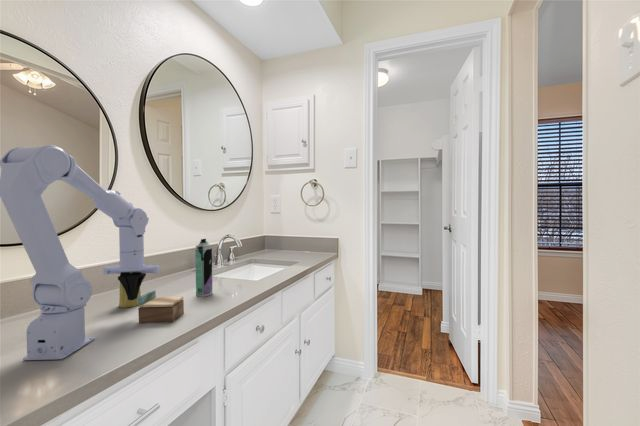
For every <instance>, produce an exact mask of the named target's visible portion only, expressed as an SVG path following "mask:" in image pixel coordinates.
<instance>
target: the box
mask: <svg viewBox="0 0 640 426" xmlns="http://www.w3.org/2000/svg"><path fill="white" fill-rule="evenodd" d="M184 309H185V305H184V299H182V300H181V301H179V302H178V303H177V304H175V305H174V306H172V307H138V324H153V323H154V324H159V323H161V324H162V323H173V322H175V321H177V319H179V317H181V316H182V315H184V312H185V310H184Z"/></svg>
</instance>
